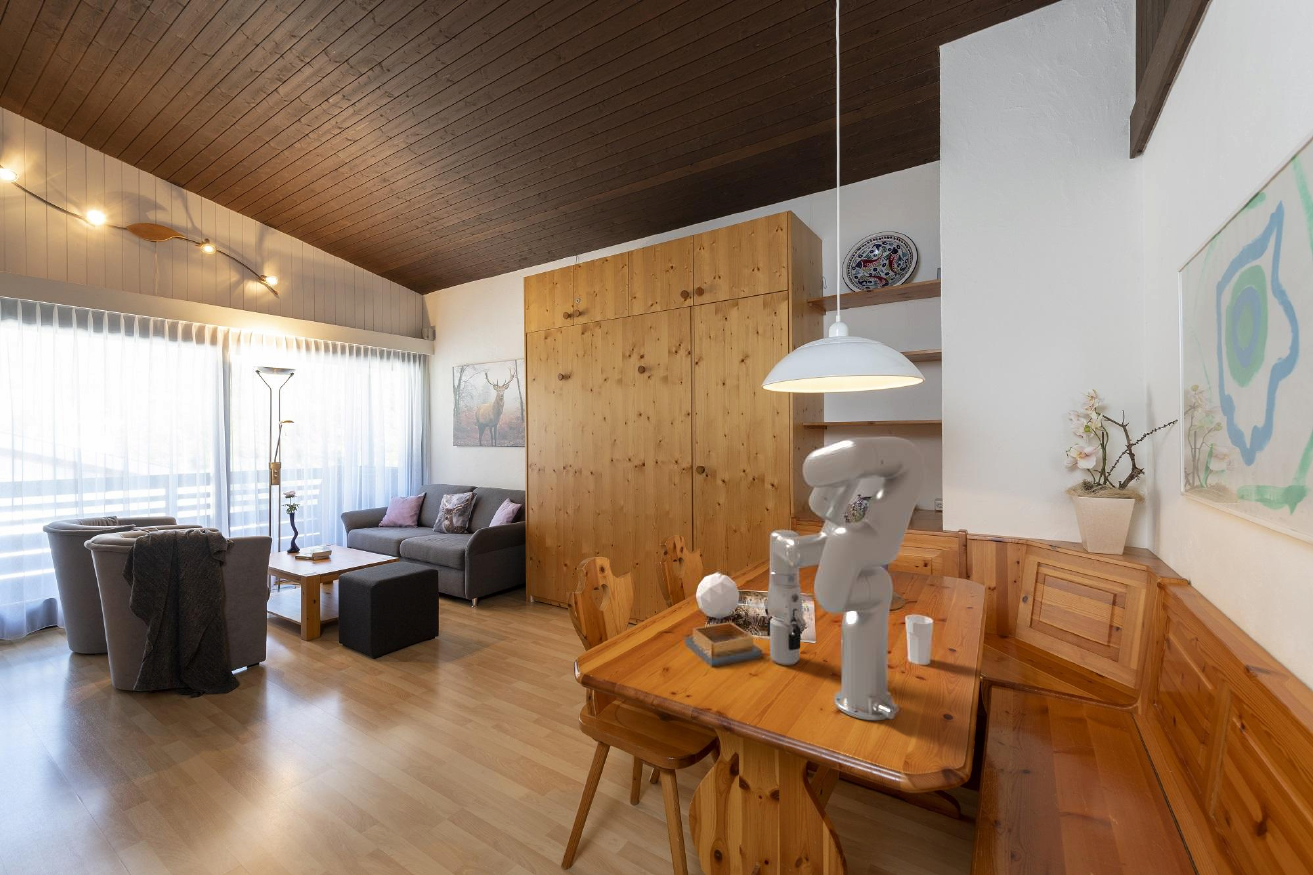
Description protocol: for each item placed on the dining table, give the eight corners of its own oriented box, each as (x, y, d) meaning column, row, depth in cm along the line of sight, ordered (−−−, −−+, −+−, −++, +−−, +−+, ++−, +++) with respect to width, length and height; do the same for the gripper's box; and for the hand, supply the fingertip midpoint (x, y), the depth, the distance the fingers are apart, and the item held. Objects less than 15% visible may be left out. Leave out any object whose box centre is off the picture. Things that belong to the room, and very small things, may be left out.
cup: (906, 653, 153) (906, 613, 152) (933, 658, 150) (933, 617, 149) (904, 663, 147) (904, 621, 147) (932, 668, 144) (932, 625, 143)
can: (800, 667, 145) (800, 621, 144) (770, 665, 146) (770, 619, 146) (798, 655, 152) (798, 611, 152) (770, 653, 154) (770, 609, 153)
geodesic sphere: (690, 588, 193) (694, 562, 184) (731, 587, 195) (737, 560, 186) (696, 627, 182) (701, 601, 173) (740, 625, 183) (747, 599, 174)
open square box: (761, 657, 151) (761, 638, 151) (711, 666, 145) (711, 647, 145) (731, 636, 166) (731, 619, 166) (685, 644, 160) (685, 626, 160)
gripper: (816, 585, 142) (815, 652, 143) (777, 567, 158) (776, 628, 159) (791, 589, 139) (791, 657, 140) (754, 570, 155) (753, 632, 156)
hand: (783, 641), depth 149 cm, fingers open, 9 cm apart
